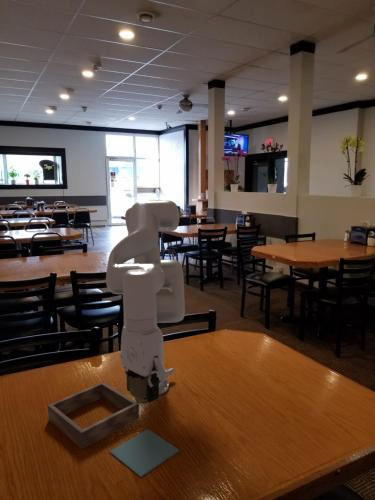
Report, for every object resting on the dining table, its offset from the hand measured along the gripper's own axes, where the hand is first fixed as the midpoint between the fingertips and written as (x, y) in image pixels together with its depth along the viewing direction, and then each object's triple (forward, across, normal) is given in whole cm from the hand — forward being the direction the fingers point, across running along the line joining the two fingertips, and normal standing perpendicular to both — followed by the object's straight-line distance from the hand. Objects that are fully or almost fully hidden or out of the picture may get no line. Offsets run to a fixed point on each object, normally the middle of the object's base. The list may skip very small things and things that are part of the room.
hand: (142, 393), depth 92 cm
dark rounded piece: (+2, 0, 0) cm, 2 cm away
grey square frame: (+15, -21, -1) cm, 26 cm away
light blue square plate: (+15, 0, 0) cm, 15 cm away
